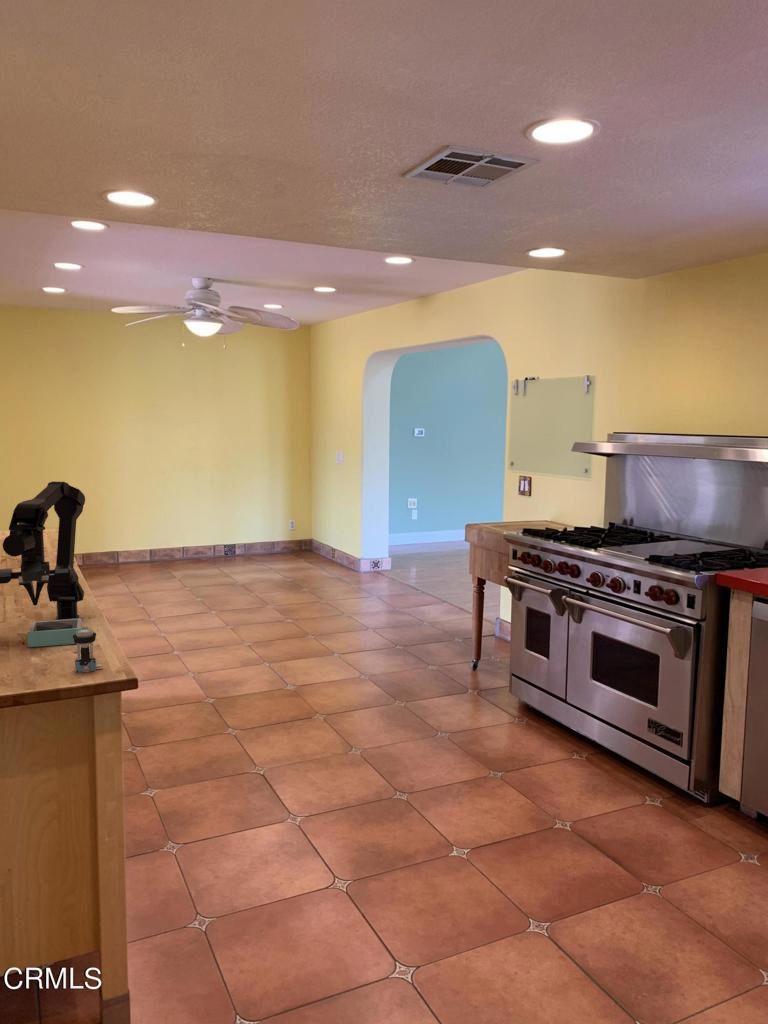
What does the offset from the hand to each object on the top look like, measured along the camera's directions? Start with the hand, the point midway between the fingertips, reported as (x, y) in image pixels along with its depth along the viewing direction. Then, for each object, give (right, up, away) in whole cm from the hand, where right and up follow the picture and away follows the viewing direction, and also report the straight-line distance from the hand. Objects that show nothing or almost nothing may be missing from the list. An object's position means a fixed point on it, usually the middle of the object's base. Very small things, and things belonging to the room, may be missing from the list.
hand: (35, 605), depth 209 cm
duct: (+5, -10, +3) cm, 11 cm away
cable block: (+4, -10, +3) cm, 11 cm away
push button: (+23, -13, -23) cm, 35 cm away
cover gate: (+7, -10, -4) cm, 13 cm away
